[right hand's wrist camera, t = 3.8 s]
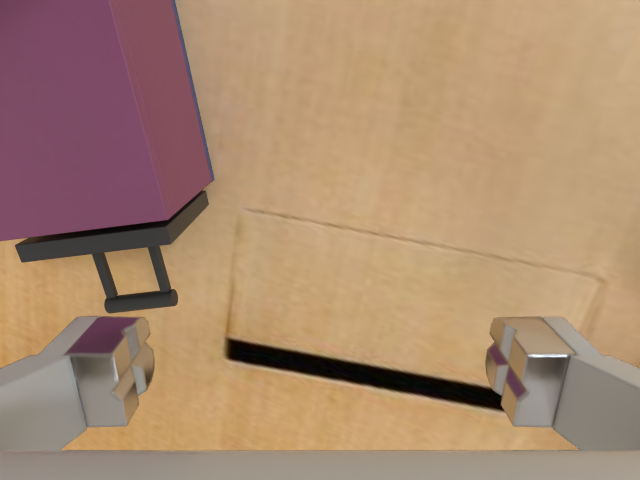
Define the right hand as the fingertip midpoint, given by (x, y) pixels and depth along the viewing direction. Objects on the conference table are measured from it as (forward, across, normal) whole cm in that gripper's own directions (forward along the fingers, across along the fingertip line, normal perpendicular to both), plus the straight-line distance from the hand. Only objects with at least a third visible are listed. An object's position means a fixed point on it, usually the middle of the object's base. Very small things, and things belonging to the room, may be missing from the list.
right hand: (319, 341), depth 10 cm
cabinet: (+26, +16, -8) cm, 32 cm away
